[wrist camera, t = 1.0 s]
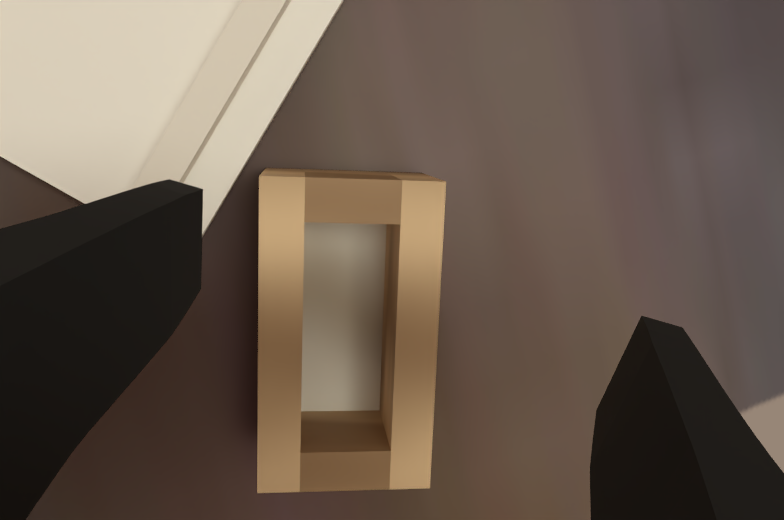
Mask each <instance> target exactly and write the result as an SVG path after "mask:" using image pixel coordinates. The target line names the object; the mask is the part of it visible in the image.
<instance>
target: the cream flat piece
mask: <svg viewBox="0 0 784 520" xmlns="http://www.w3.org/2000/svg"><path fill="white" fill-rule="evenodd" d="M343 1H344V0H0V156H1V157H2V158H4V159H6V160H8V161H10V162H11V163H13V164H15V165H17V166H18V167H20V168H22V169H24V170H26V171H27V172H29V173H31V174H33V175H34V176H36V177H38V178H40V179H42V180H43V181H45V182H47V183H49V184H50V185H52V186H54V187H56V188H58V189H59V190H61V191H63V192H65V193H66V194H68V195H70V196H72V197H74V198H75V199H77V200H79V201H81V202H83V203H84V204H87V203H90V202H93V201H96V200H99V199H102V198H106V197H109V196H112V195H115V194H118V193H121V192H124V191H127V190H131V189H134V188H137V187H140V186H144V185H147V184H151V183H155V182H159V181H163V180H168V179H170V180H174V181H177V182H180V183H184V184H187V185H191V186H194V187H198V188H201V189H203V216H202V237H203V236H204V234H205V232H206V231H207V229H208V227H209V226H210V224H211V222H212V221H213V219H214V217H215V215H216V214H217V212H218V210H219V209H220V207H221V205H222V204H223V202H224V200H225V199H226V197H227V195H228V194H229V192H230V190H231V189H232V187H233V185H234V184H235V182H236V180H237V179H238V177H239V175H240V174H241V172H242V170H243V169H244V167H245V165H246V164H247V162H248V160H249V159H250V157H251V155H252V154H253V152H254V150H255V149H256V147H257V145H258V144H259V142H260V140H261V139H262V137H263V135H264V134H265V132H266V130H267V129H268V127H269V125H270V123H271V122H272V120H273V118H274V117H275V115H276V113H277V112H278V110H279V108H280V107H281V105H282V103H283V102H284V100H285V98H286V97H287V95H288V93H289V92H290V90H291V88H292V87H293V85H294V83H295V82H296V80H297V78H298V77H299V75H300V73H301V72H302V70H303V68H304V67H305V65H306V63H307V62H308V60H309V58H310V57H311V55H312V53H313V52H314V50H315V48H316V47H317V45H318V43H319V42H320V40H321V38H322V36H323V35H324V33H325V31H326V30H327V28H328V26H329V25H330V23H331V21H332V20H333V18H334V16H335V15H336V13H337V11H338V10H339V8H340V6H341V5H342V3H343Z"/></svg>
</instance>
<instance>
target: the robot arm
mask: <svg viewBox="0 0 784 520" xmlns="http://www.w3.org/2000/svg"><path fill="white" fill-rule="evenodd" d="M202 216H203V189H201V188H198V187H194V186H191V185H187V184H184V183H180V182H177V181H174V180H170V179H168V180H163V181H159V182H155V183H151V184H147V185H144V186H140V187H137V188H134V189H131V190H127V191H124V192H121V193H118V194H115V195H112V196H109V197H106V198H102V199H99V200H96V201H93V202H90V203H87V204H84V205H80V206H77V207H74V208H71V209H68V210H65V211H62V212H58V213H55V214H52V215H49V216H45V217H42V218H38V219H35V220H31V221H27V222H24V223H20V224H17V225H13V226H9V227H6V228H2V229H0V520H26V518H27V517H28V515H29V514H30V512H31V511H32V509H33V508H34V506H35V505H36V503H37V502H38V500H39V499H40V497H41V496H42V494H43V493H44V492H45V490H46V489H47V487H48V486H49V484H50V483H51V482H52V480H53V479H54V477H55V476H56V474H57V473H58V471H59V470H60V469H61V467H62V466H63V464H64V463H65V461H66V460H67V459H68V457H69V456H70V454H71V453H72V452H73V451H74V449H75V448H76V447H77V445H78V444H79V443H80V442H81V440H82V439H83V438H84V437H85V435H86V434H87V433H88V432H89V430H90V429H91V428H92V427H93V426H94V425H95V424H96V422H97V421H98V420H99V419H100V418H101V417H102V415H103V414H104V413H105V412H106V411H107V410H108V409H109V407H110V406H111V405H112V404H113V403H114V402H115V400H116V399H117V398H118V397H119V396H120V395H121V394H122V392H123V391H124V390H125V389H126V388H127V387H128V386H129V384H130V383H131V382H132V381H133V380H134V379H135V377H136V376H137V375H138V374H139V373H140V372H141V371H142V369H143V368H144V367H145V366H146V365H147V364H148V362H149V361H150V360H151V359H152V358H153V356H154V355H155V354H156V353H157V352H158V351H159V349H160V348H161V347H162V346H163V345H164V343H165V342H166V341H167V340H168V339H169V337H170V336H171V335H172V334H173V332H174V331H175V329H176V328H177V326H178V324H179V323H180V321H181V320H182V318H183V317H184V315H185V314H186V312H187V311H188V309H189V307H190V306H191V304H192V302H193V301H194V299H195V298H196V296H197V294H198V293H199V291H200V289H201V263H202ZM590 497H591V520H784V473H783V472H782V470H781V469H780V468H779V467H778V465H777V464H776V463H775V462H774V460H773V459H772V458H771V456H770V455H769V454H768V452H767V451H766V449H765V448H764V447H763V445H762V444H761V443H760V441H759V440H758V439H757V438H756V436H755V435H754V433H753V432H752V430H751V429H750V427H749V426H748V425H747V423H746V422H745V420H744V419H743V417H742V416H741V415H740V413H739V412H738V410H737V409H736V407H735V406H734V404H733V403H732V401H731V400H730V398H729V397H728V395H727V394H726V392H725V391H724V389H723V388H722V386H721V385H720V383H719V382H718V380H717V379H716V377H715V376H714V374H713V373H712V371H711V370H710V368H709V367H708V365H707V364H706V362H705V360H704V359H703V357H702V356H701V354H700V353H699V351H698V350H697V348H696V347H695V345H694V344H693V342H692V341H691V339H690V338H689V336H688V335H687V333H686V332H685V331H684V329H683V328H682V327H679V326H675V325H672V324H668V323H665V322H661V321H658V320H655V319H651V318H648V317H644V316H641V318H640V320H639V322H638V324H637V327H636V329H635V331H634V333H633V335H632V337H631V339H630V341H629V343H628V345H627V347H626V350H625V352H624V354H623V356H622V358H621V360H620V362H619V364H618V366H617V368H616V371H615V373H614V375H613V377H612V379H611V381H610V383H609V385H608V387H607V389H606V391H605V394H604V396H603V398H602V400H601V402H600V404H599V406H598V408H597V410H596V419H595V427H594V435H593V443H592V453H591V463H590Z"/></svg>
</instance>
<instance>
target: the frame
mask: <svg viewBox="0 0 784 520" xmlns="http://www.w3.org/2000/svg"><path fill="white" fill-rule="evenodd" d="M445 193H446V181H443V180H440V179H437V178H434V177H431V176H429V175H426V174H423V173H411V172H380V171H350V170H319V169H289V168H265V170H264V171H263V172H262V173H261V174H260V175H259V265H258V443H257V493H281V492H315V491H350V490H385V489H420V488H430V475H431V456H432V438H433V419H434V400H435V381H436V362H437V344H438V325H439V306H440V287H441V268H442V250H443V231H444V212H445Z"/></svg>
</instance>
